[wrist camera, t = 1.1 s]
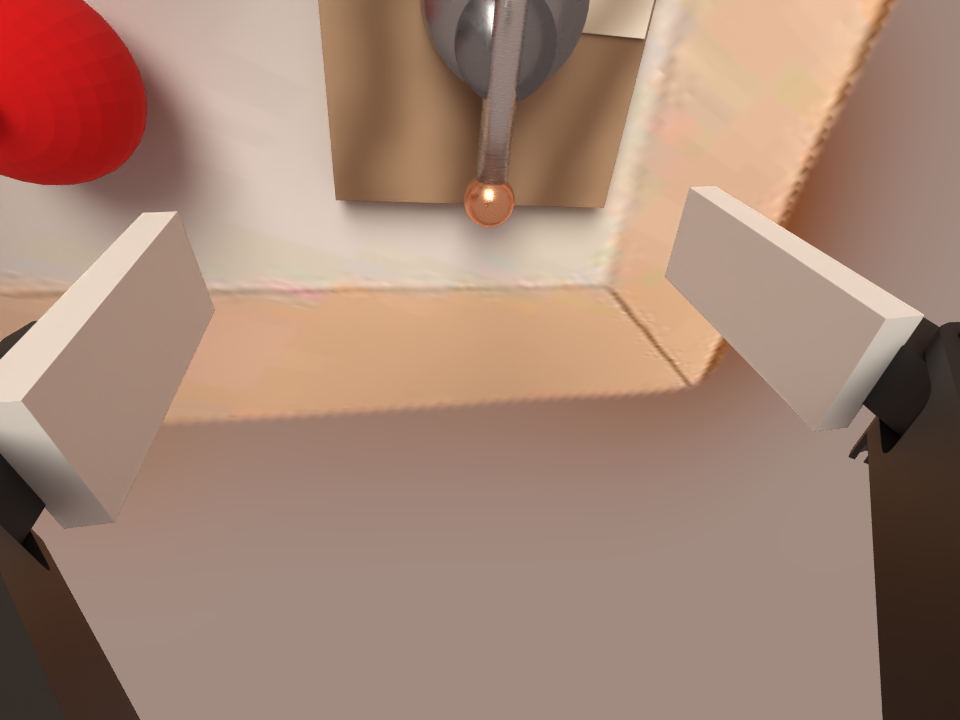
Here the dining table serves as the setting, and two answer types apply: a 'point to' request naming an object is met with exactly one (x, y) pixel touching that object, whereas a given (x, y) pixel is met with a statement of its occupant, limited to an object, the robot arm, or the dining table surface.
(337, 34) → the board
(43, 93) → the ornament
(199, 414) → the dining table surface
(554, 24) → the metal ball lever
